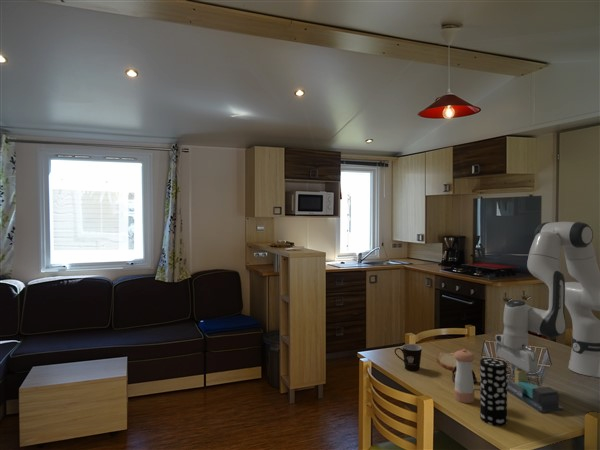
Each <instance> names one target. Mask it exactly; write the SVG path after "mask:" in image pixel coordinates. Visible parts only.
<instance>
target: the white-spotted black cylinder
mask: <svg viewBox="0 0 600 450" xmlns="http://www.w3.org/2000/svg"><path fill="white" fill-rule="evenodd" d="M479 362H480V363H479V364H480V365H479V367H480V369H479V371H480V372H479V373H480V378H479V379H480V381H479V383H480V390H479V391H480V392H479V394H480V395H479V396H480V398H479V400H480V402H479V403H480V405H479V407H480V412H479V414H480V415H479V417H480V420H481V421H482V422H484V423H486V424H488V425H489V426H494V427H495V426H496V427H503V426H506V425H507V424H508V391H507V381H508V362H507V361H506V360H503V359H499V358H493V357H484V358H481V359H480V360H479Z"/></svg>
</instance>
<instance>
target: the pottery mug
mask: <svg viewBox="0 0 600 450" xmlns="http://www.w3.org/2000/svg"><path fill="white" fill-rule="evenodd" d="M456 370H457V366H455V367H454V368H453V370H452V371H451V372H452V374H451V375H452V376H451V378H452V379H451V380H452V382H453V383H455V376H456V372H455V371H456ZM472 376H473V381H475V384H476V385H477V384H478V379H477V377H476V373H475V371H474V370H473V369H472Z"/></svg>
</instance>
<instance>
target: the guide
mask: <svg viewBox="0 0 600 450" xmlns="http://www.w3.org/2000/svg"><path fill="white" fill-rule="evenodd" d="M507 393H509V394H511V395H513V396H514V397H515V398H517V399H519V400H520V401H522V402H524V403H525V404H526V405H528V406H530V407H531V408H533V409H534V410H536V411H537V412H539V413H541V414H544V413H545V414H546V413H552V412H563V411H564V409H565V408H564V407H563V406H561V405H560V403H559V399H560V394H558V393H559V392H558V391H557V390H556V389H554V388H552V387H550V386H545V387H539V388H533V389H532V398H531V397H529V396H527V395H526V394H524V387H522V386H520V385H519V384H517V383H515V380H512V379H507Z"/></svg>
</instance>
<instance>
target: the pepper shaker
mask: <svg viewBox="0 0 600 450" xmlns="http://www.w3.org/2000/svg"><path fill="white" fill-rule="evenodd" d="M454 357H455V359H456V360H457V370H456V372H455V375H456V376H455V382H454V387H453V398H454V400H455V401H457V402H459V401H460V402H459V403H462V402H463V403H464V404H471V403H474V402H475V390H474V380H473V376H472V370H473V361H474V359H475V355H474V354H473V352H470V351H469V350H467V349H465V348H462V349H460V350H456V353H455V355H454ZM463 403H462V404H463Z"/></svg>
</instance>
